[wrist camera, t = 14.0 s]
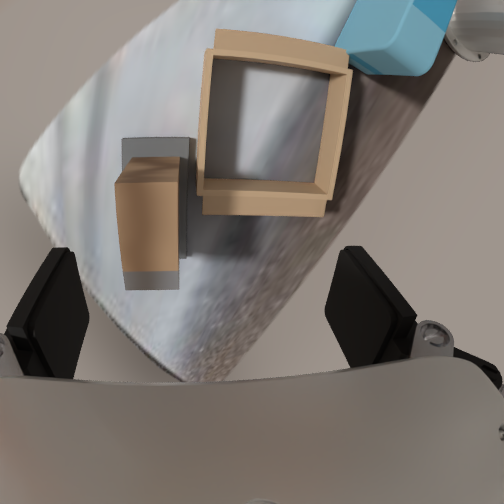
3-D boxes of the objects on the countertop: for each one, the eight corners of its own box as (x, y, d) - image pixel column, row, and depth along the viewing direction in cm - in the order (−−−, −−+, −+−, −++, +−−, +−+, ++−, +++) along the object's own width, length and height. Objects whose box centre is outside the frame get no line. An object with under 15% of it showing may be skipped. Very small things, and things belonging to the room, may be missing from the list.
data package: (361, 75, 31) (428, 78, 21) (329, 55, 29) (389, 47, 19) (395, 1, 26) (463, -13, 16) (366, -20, 25) (429, -45, 15)
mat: (189, 137, 32) (189, 138, 31) (186, 255, 38) (186, 258, 38) (123, 138, 30) (121, 139, 29) (128, 255, 37) (128, 259, 36)
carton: (337, 53, 29) (355, 52, 26) (315, 203, 38) (328, 217, 35) (206, 34, 26) (209, 28, 23) (194, 200, 35) (196, 214, 32)
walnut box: (179, 156, 32) (177, 182, 24) (179, 242, 36) (179, 289, 29) (132, 157, 31) (114, 183, 23) (136, 243, 35) (125, 290, 28)
